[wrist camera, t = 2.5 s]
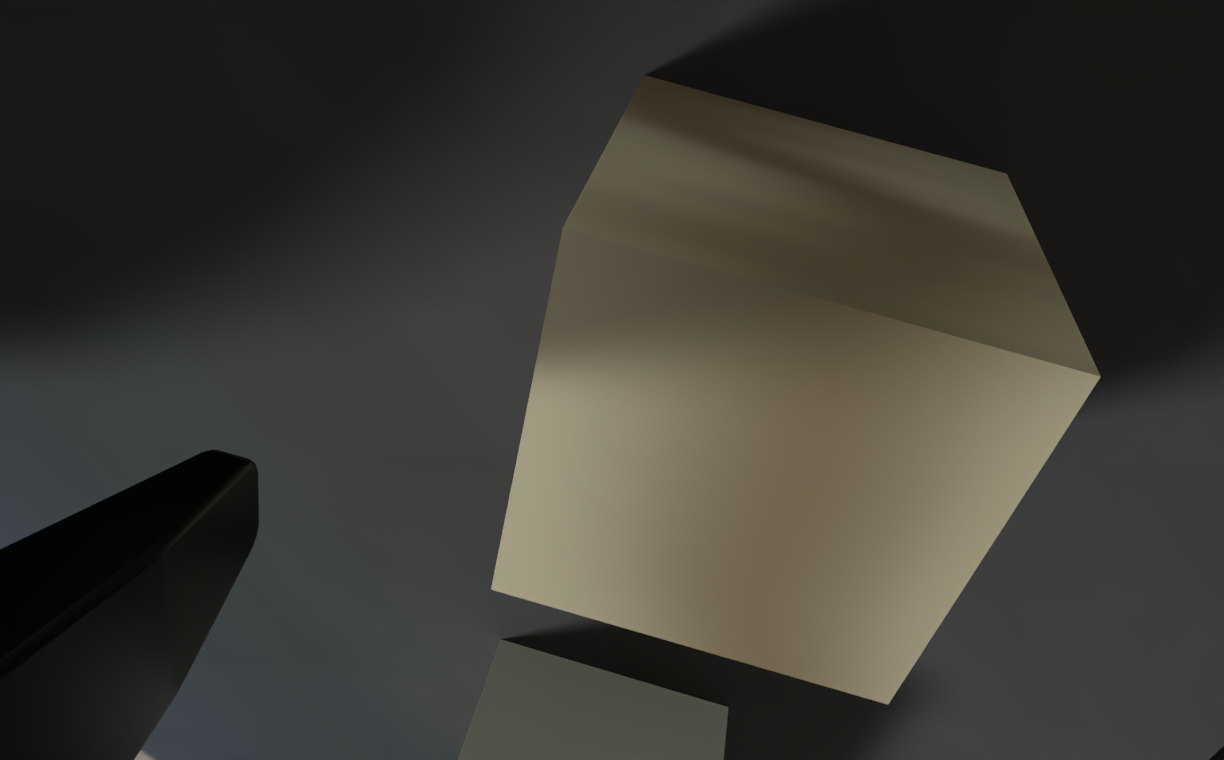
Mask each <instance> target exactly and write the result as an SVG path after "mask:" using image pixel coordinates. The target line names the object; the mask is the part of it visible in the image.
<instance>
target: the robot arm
mask: <svg viewBox="0 0 1224 760" xmlns="http://www.w3.org/2000/svg"><path fill="white" fill-rule="evenodd" d="M258 526H259V502H258V471H257V467H256V465H255V463H254V462H253V461H251V460H250V459H247V458H244V457H240V456H237V455H233V454H230V453H226V452H223V451H219V450H209V451H205V452H202V453H200V454H198V455H196V456H194V457H192V458H189V459H187V460H185V461H183V462H181V463H179V464H177V465H175V466H173V467H171V468H169V469H167V470H165V471H162V472H160V473H158V474H156V475H154V476H152V477H150V478H148V479H146V480H144V481H142V482H140V483H137V484H135V485H133V486H131V487H129V488H127V489H125V490H123V491H121V492H119V493H117V494H115V495H113V496H110V497H108V498H106V499H104V500H102V501H100V502H98V503H96V504H94V505H92V506H90V507H88V508H85V509H83V510H81V511H79V512H77V513H75V514H73V515H71V516H69V517H67V518H65V519H63V520H61V521H58V522H56V523H54V524H52V525H50V526H48V527H46V528H44V529H42V530H40V531H38V532H36V533H33V534H31V535H29V536H27V537H25V538H23V539H21V540H19V541H17V542H15V543H13V544H11V545H9V546H6V547H4V548H2V549H0V760H134V759H135V757H136V756H137V754H138V753H139V751H140V750H141V748H142V747H143V745H144V744H145V742H146V741H147V739H148V738H149V736H150V735H151V733H152V732H153V730H154V729H155V727H156V726H157V724H158V723H159V721H160V720H161V718H162V716H163V715H164V713H165V712H166V710H167V708H168V707H169V705H170V704H171V702H172V700H173V699H174V697H175V696H176V694H177V692H178V690H179V688H180V687H181V685H182V683H183V681H184V679H185V677H186V676H187V674H188V672H189V670H190V668H191V666H192V664H193V662H194V660H195V658H196V656H197V654H198V653H199V651H200V649H201V647H202V645H203V643H204V641H205V639H206V637H207V635H208V633H209V631H210V629H211V627H212V625H213V623H214V621H215V619H216V618H217V616H218V614H219V612H220V610H221V608H222V606H223V604H224V602H225V600H226V598H227V596H228V594H229V592H230V590H231V588H232V586H233V584H234V582H235V581H236V579H237V577H238V575H239V573H240V571H241V569H242V567H243V565H244V563H245V561H246V559H247V557H248V555H249V553H250V551H251V549H252V547H253V545H254V542H255V539H256V536H257V532H258ZM1209 760H1224V747H1223V748H1221V749H1220V750H1219V751H1218V752H1217V753H1216V754H1215V755H1214V756H1212V757H1211V758H1210V759H1209Z"/></svg>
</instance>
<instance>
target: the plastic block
mask: <svg viewBox="0 0 1224 760" xmlns="http://www.w3.org/2000/svg"><path fill="white" fill-rule="evenodd" d="M727 717H728V707H726V706H723V705H719V704H716V703H713V702H709V701H706V700H703V699H699V698H696V697H692V696H689V695H686V694H682V693H679V692H676V691H672V690H669V689H666V688H662V687H659V686H656V685H652V684H649V683H646V682H642V681H639V680H636V679H632V678H629V677H625V676H622V675H619V674H615V673H612V672H609V671H605V670H602V669H599V668H595V667H592V666H589V665H585V664H582V663H579V662H575V661H572V660H569V659H565V658H562V657H558V656H555V655H552V654H548V653H545V652H542V651H538V650H535V649H532V648H528V647H525V646H522V645H518V644H515V643H512V642H508V641H505V640H502V639H501V640H500V642H499V645H498V648H497V651H496V654H495V656H494V659H493V662H492V665H491V668H490V670H489V673H488V676H487V679H486V682H485V684H484V687H483V690H482V693H481V696H480V699H479V701H478V704H477V707H476V710H475V713H474V715H473V718H472V721H471V724H470V727H469V729H468V732H467V735H466V738H465V741H464V743H463V746H462V749H461V752H460V755H459V758H458V760H724V751H725V740H726V729H727Z"/></svg>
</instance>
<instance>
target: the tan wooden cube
mask: <svg viewBox="0 0 1224 760" xmlns="http://www.w3.org/2000/svg"><path fill="white" fill-rule="evenodd" d="M1100 377H1101V376H1100V374H1099V372H1098V370H1097V367H1096V365H1095V363H1094V361H1093V359H1092V357H1091V355H1090V352H1089V350H1088V348H1087V346H1086V344H1085V342H1084V339H1083V337H1082V335H1081V333H1080V331H1079V329H1078V326H1077V324H1076V322H1075V320H1074V318H1073V316H1072V313H1071V311H1070V309H1069V307H1068V305H1067V303H1066V301H1065V298H1064V296H1063V294H1062V292H1061V290H1060V288H1059V285H1058V283H1057V281H1056V279H1055V277H1054V275H1053V272H1052V270H1051V268H1050V266H1049V264H1048V262H1047V260H1046V257H1045V255H1044V253H1043V251H1042V249H1041V247H1040V244H1039V242H1038V240H1037V238H1036V236H1035V234H1034V231H1033V229H1032V227H1031V225H1030V223H1029V221H1028V218H1027V216H1026V214H1025V212H1024V210H1023V208H1022V206H1021V203H1020V201H1019V199H1018V197H1017V195H1016V193H1015V190H1014V188H1013V186H1012V184H1011V182H1010V180H1009V177H1008V175H1007V174H1006V173H1002V172H999V171H995V170H991V169H987V168H984V167H980V166H976V165H973V164H969V163H965V162H962V161H958V160H954V159H951V158H947V157H943V156H940V155H936V154H932V153H929V152H925V151H921V150H918V149H914V148H910V147H907V146H903V145H899V144H896V143H892V142H888V141H885V140H881V139H877V138H874V137H870V136H866V135H862V134H859V133H855V132H851V131H848V130H844V129H840V128H837V127H833V126H829V125H826V124H822V123H818V122H815V121H811V120H807V119H804V118H800V117H796V116H793V115H789V114H785V113H782V112H778V111H774V110H771V109H767V108H763V107H760V106H756V105H752V104H749V103H745V102H741V101H737V100H734V99H730V98H726V97H723V96H719V95H715V94H712V93H708V92H704V91H701V90H697V89H693V88H690V87H686V86H682V85H679V84H675V83H671V82H668V81H664V80H660V79H657V78H653V77H649V76H646V75H644V77H643V79H642V80H641V82H640V84H639V86H638V88H637V90H636V92H635V93H634V95H633V97H632V99H631V101H630V103H629V105H628V107H627V108H626V110H625V112H624V114H623V116H622V118H621V120H620V122H619V123H618V125H617V127H616V129H615V131H614V133H613V135H612V136H611V138H610V140H609V142H608V144H607V146H606V148H605V150H604V151H603V153H602V155H601V157H600V159H599V161H598V163H597V165H596V166H595V168H594V170H593V172H592V174H591V176H590V178H589V179H588V181H587V183H586V185H585V187H584V189H583V191H582V193H581V194H580V196H579V198H578V200H577V202H576V204H575V206H574V208H573V209H572V211H571V213H570V215H569V217H568V219H567V221H566V222H565V224H564V226H563V230H562V235H561V240H560V245H559V250H558V255H557V260H556V265H555V270H554V275H553V280H552V285H551V290H550V295H549V300H548V305H547V310H546V315H545V320H544V325H543V330H542V336H541V341H540V346H539V351H538V356H537V361H536V366H535V371H534V376H533V381H532V386H531V391H530V396H529V401H528V406H527V411H526V416H525V421H524V426H523V431H522V436H521V441H520V446H519V451H518V456H517V461H516V466H515V471H514V476H513V481H512V486H511V492H510V497H509V502H508V507H507V512H506V517H505V522H504V527H503V532H502V537H501V542H500V547H499V552H498V557H497V562H496V567H495V572H494V577H493V582H492V587H491V590H495V591H498V592H501V593H505V594H508V595H512V596H515V597H519V598H522V599H526V600H529V601H532V602H536V603H539V604H543V605H546V606H550V607H553V608H557V609H560V610H563V611H567V612H570V613H574V614H577V615H581V616H584V617H588V618H591V619H595V620H598V621H601V622H605V623H608V624H612V625H615V626H619V627H622V628H626V629H629V630H632V631H636V632H639V633H643V634H646V635H650V636H653V637H657V638H660V639H663V640H667V641H670V642H674V643H677V644H681V645H684V646H688V647H691V648H694V649H698V650H701V651H705V652H708V653H712V654H715V655H719V656H722V657H726V658H729V659H732V660H736V661H739V662H743V663H746V664H750V665H753V666H757V667H760V668H763V669H767V670H770V671H774V672H777V673H781V674H784V675H788V676H791V677H794V678H798V679H801V680H805V681H808V682H812V683H815V684H819V685H822V686H825V687H829V688H832V689H836V690H839V691H843V692H846V693H850V694H853V695H857V696H860V697H863V698H867V699H870V700H874V701H877V702H881V703H884V704H889V703H890V701H891V700H892V698H893V697H894V695H895V693H896V692H897V690H898V689H899V687H900V686H901V684H902V683H903V681H904V680H905V678H906V676H907V675H908V673H909V672H910V670H911V669H912V667H913V666H914V664H915V663H916V661H917V659H918V658H919V656H920V655H921V653H922V652H923V650H924V649H925V647H926V646H927V644H928V643H929V641H930V639H931V638H932V636H933V635H934V633H935V632H936V630H937V629H938V627H939V626H940V624H941V622H942V621H943V619H944V618H945V616H946V615H947V613H948V612H949V610H950V609H951V607H952V605H953V604H954V602H955V601H956V599H957V598H958V596H959V595H960V593H961V592H962V590H963V588H964V587H965V585H966V584H967V582H968V581H969V579H970V578H971V576H972V575H973V573H974V572H975V570H976V568H977V567H978V565H979V564H980V562H981V561H982V559H983V558H984V556H985V555H986V553H987V551H988V550H989V548H990V547H991V545H992V544H993V542H994V541H995V539H996V538H997V536H998V534H999V533H1000V531H1001V530H1002V528H1003V527H1004V525H1005V524H1006V522H1007V521H1008V519H1009V518H1010V516H1011V514H1012V513H1013V511H1014V510H1015V508H1016V507H1017V505H1018V504H1019V502H1020V501H1021V499H1022V497H1023V496H1024V494H1025V493H1026V491H1027V490H1028V488H1029V487H1030V485H1031V484H1032V482H1033V480H1034V479H1035V477H1036V476H1037V474H1038V473H1039V471H1040V470H1041V468H1042V467H1043V465H1044V464H1045V462H1046V460H1047V459H1048V457H1049V456H1050V454H1051V453H1052V451H1053V450H1054V448H1055V447H1056V445H1057V443H1058V442H1059V440H1060V439H1061V437H1062V436H1063V434H1064V433H1065V431H1066V430H1067V428H1068V426H1069V425H1070V423H1071V422H1072V420H1073V419H1074V417H1075V416H1076V414H1077V413H1078V411H1079V410H1080V408H1081V406H1082V405H1083V403H1084V402H1085V400H1086V399H1087V397H1088V396H1089V394H1090V393H1091V391H1092V389H1093V388H1094V386H1095V385H1096V383H1097V382H1098V380H1099V379H1100Z"/></svg>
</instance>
